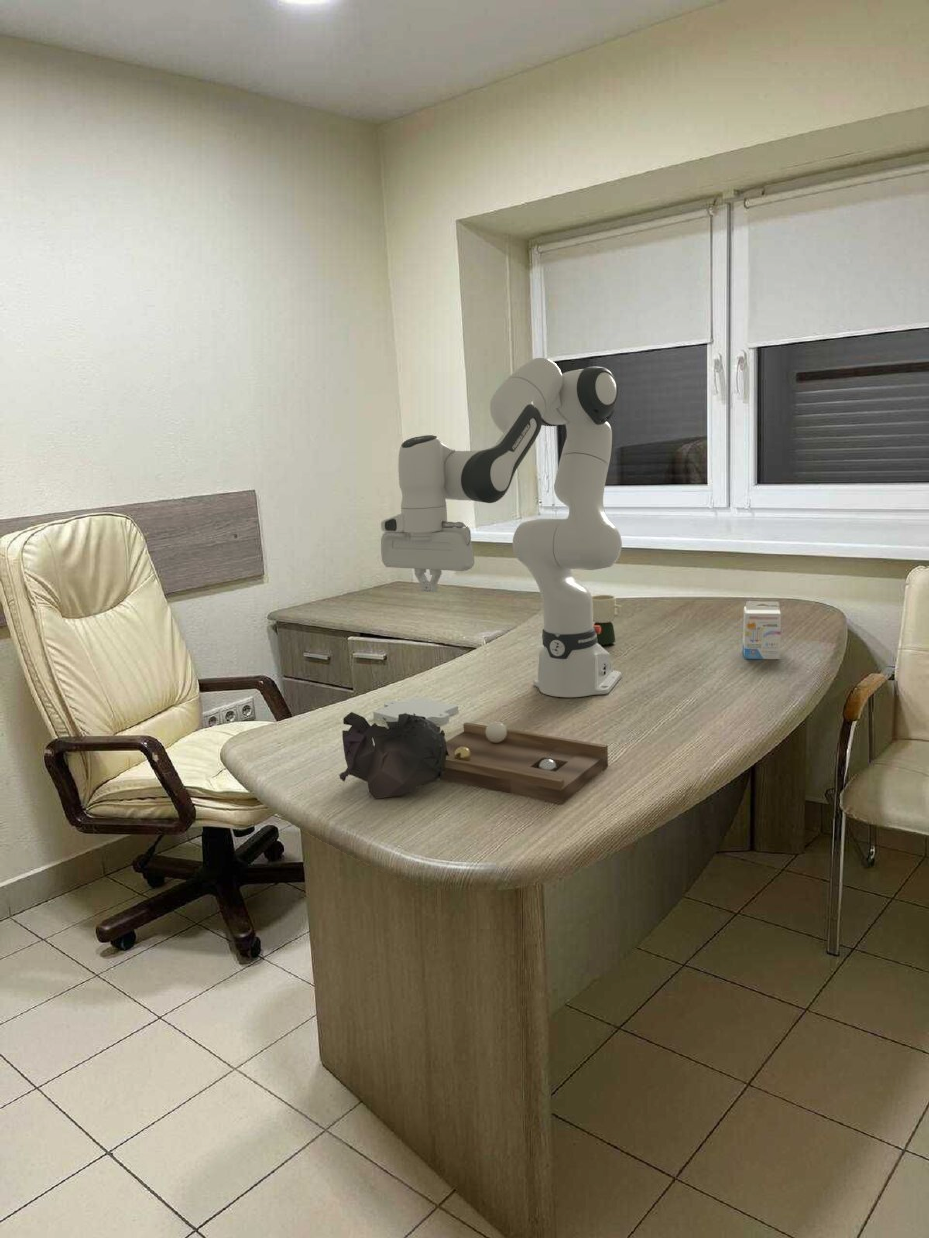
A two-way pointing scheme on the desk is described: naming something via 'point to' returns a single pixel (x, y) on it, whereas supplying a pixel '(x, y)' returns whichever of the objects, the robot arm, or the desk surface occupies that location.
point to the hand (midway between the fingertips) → (429, 591)
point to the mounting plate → (417, 710)
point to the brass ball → (462, 754)
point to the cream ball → (496, 732)
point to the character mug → (605, 617)
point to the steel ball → (548, 765)
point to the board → (524, 763)
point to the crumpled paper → (394, 753)
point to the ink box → (761, 630)
